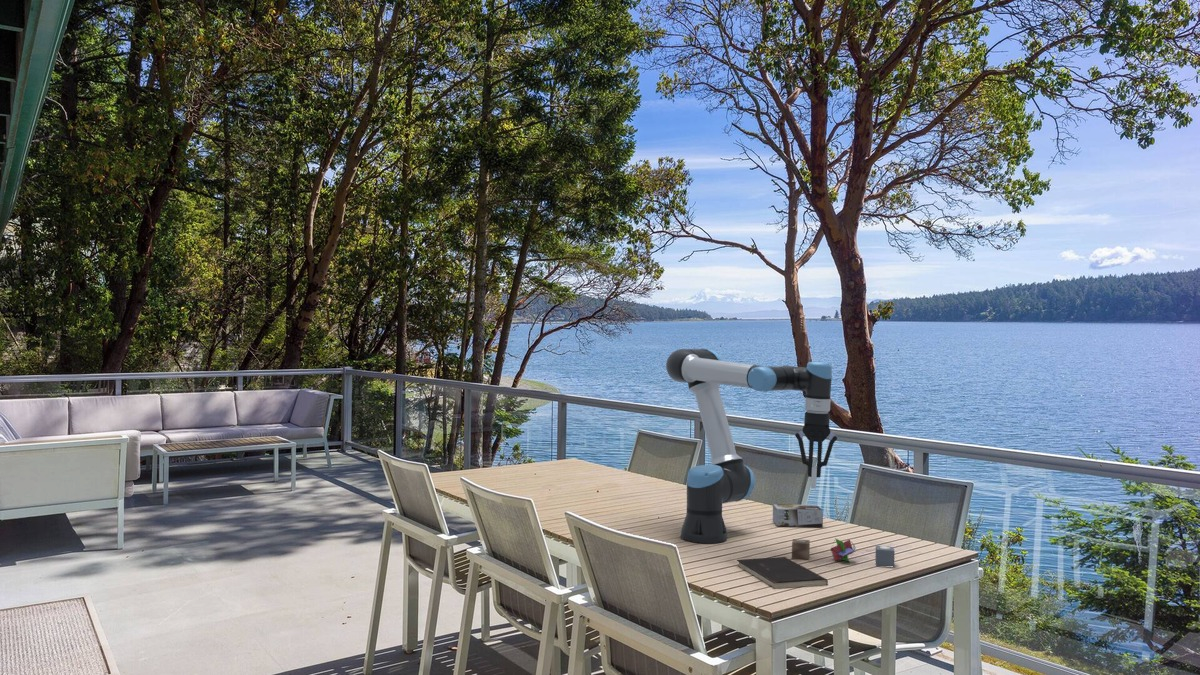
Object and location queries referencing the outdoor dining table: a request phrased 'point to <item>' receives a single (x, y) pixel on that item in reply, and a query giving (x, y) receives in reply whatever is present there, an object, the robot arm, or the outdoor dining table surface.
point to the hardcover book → (781, 572)
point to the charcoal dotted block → (884, 556)
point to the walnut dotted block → (800, 549)
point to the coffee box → (797, 515)
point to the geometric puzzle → (842, 550)
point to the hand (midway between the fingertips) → (813, 487)
